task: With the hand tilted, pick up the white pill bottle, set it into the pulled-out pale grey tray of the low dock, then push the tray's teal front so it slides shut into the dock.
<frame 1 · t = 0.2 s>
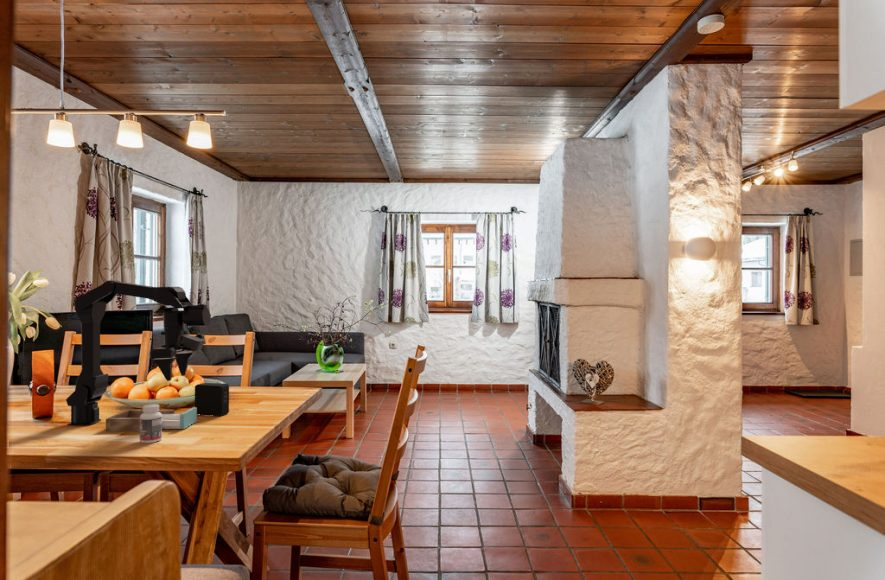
hand: (176, 378, 168), 14 cm above the table, tool pointing down, fingers open, 9 cm apart
pill bottle: (150, 441, 150), on the table
tray: (168, 417, 166), point 2 cm above the table, slide at 6.0 cm
dock: (149, 425, 166), on the table
electronic device: (211, 414, 181), on the table
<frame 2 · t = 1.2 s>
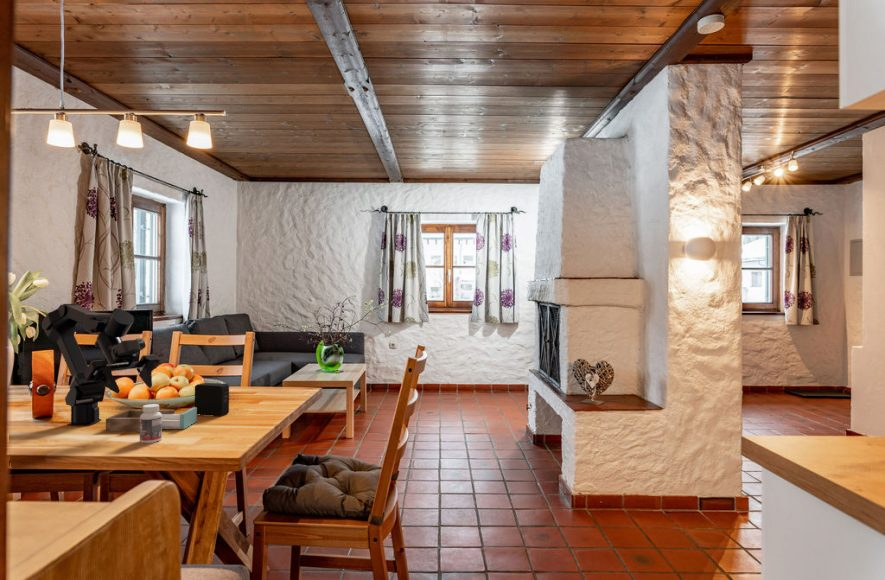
hand: (135, 389, 154), 13 cm above the table, tool tilted 45°, fingers open, 9 cm apart
nothing on the table moved.
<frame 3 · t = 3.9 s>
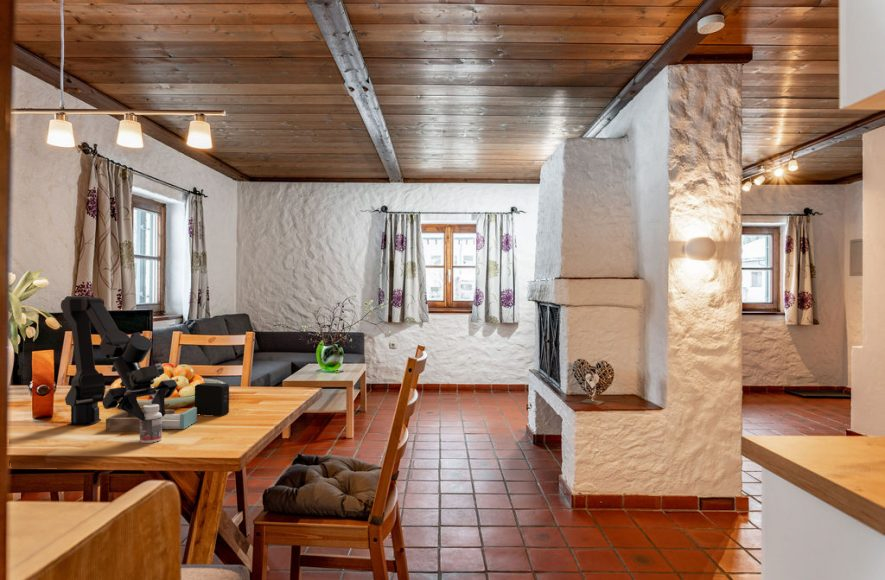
hand: (154, 417, 149), 7 cm above the table, tool tilted 45°, fingers closed on pill bottle, 5 cm apart
pill bottle: (150, 441, 150), on the table, touching gripper
everything else where it was.
when the fingers open (9 cm above the table, at t = 7.5 s): pill bottle drops 1 cm, resting on tray.
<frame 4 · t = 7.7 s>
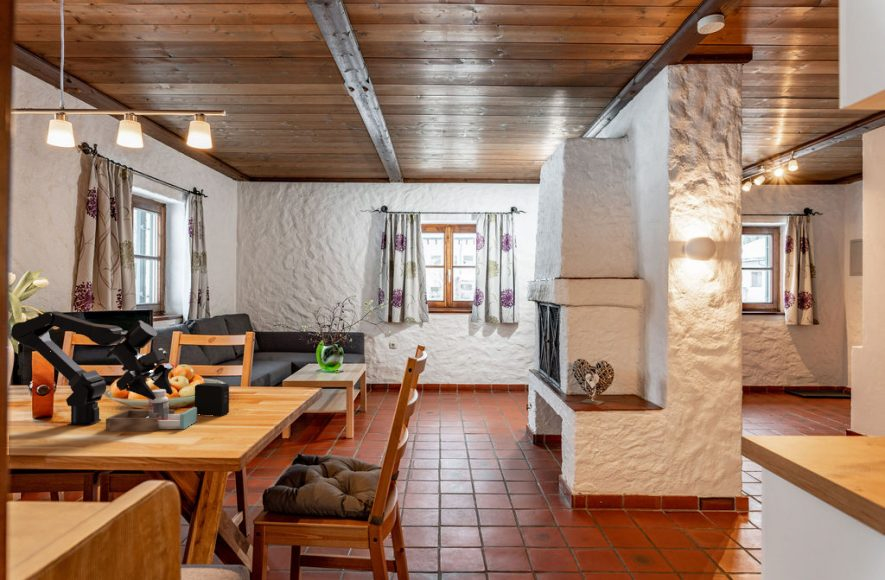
hand: (163, 396, 166), 9 cm above the table, tool tilted 45°, fingers open, 7 cm apart
pill bottle: (158, 423, 166), point 1 cm above the table, touching tray
tray: (168, 417, 166), point 2 cm above the table, slide at 6.0 cm, touching pill bottle
everything else where it was.
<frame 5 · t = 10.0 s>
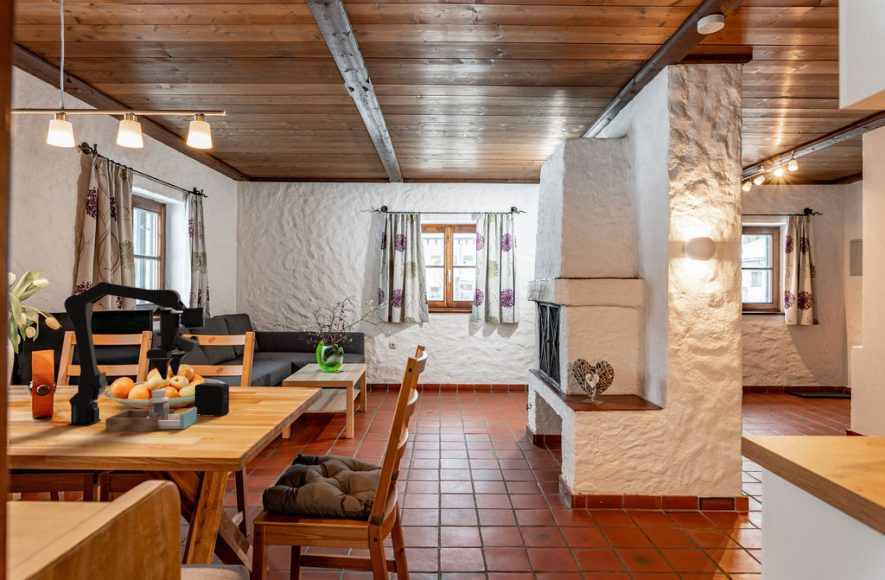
hand: (170, 377, 175), 13 cm above the table, tool pointing down, fingers open, 7 cm apart
nothing on the table moved.
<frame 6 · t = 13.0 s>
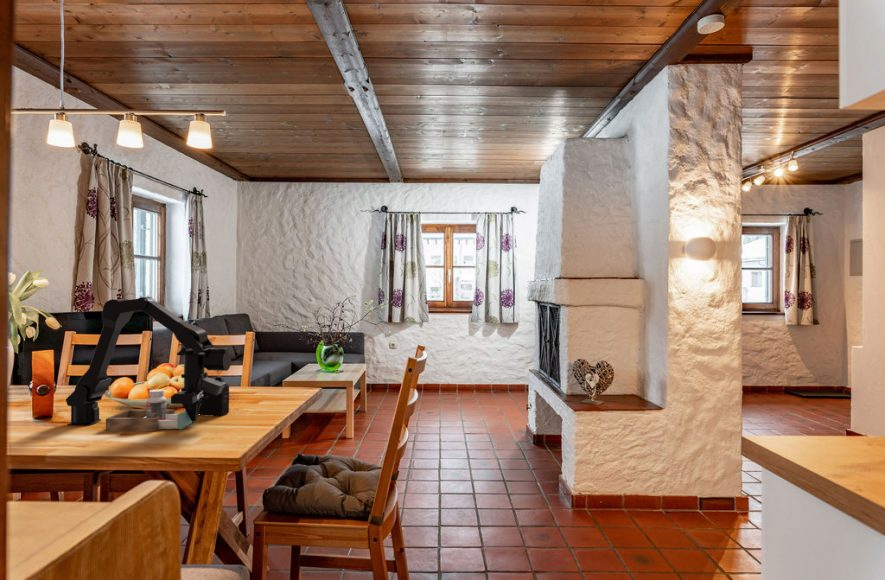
hand: (193, 421, 166), 1 cm above the table, tool pointing down, fingers closed, pressing on tray
tray: (166, 417, 166), point 2 cm above the table, slide at 5.3 cm, touching gripper, pill bottle
everything else where it was.
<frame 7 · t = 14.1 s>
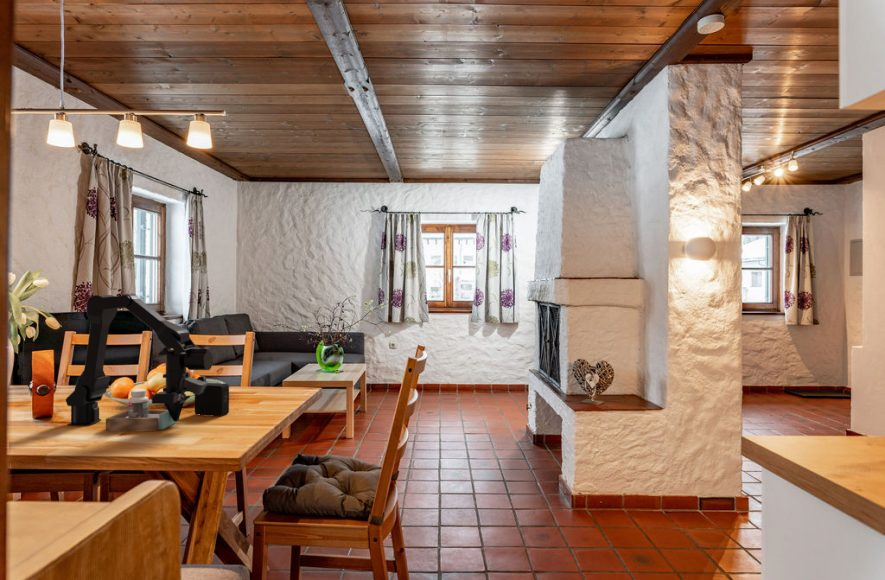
hand: (176, 421, 166), 1 cm above the table, tool pointing down, fingers closed, pressing on tray
pill bottle: (138, 423, 166), point 1 cm above the table, touching tray
tray: (148, 417, 166), point 2 cm above the table, slide at 0.0 cm, touching gripper, pill bottle
everything else where it was.
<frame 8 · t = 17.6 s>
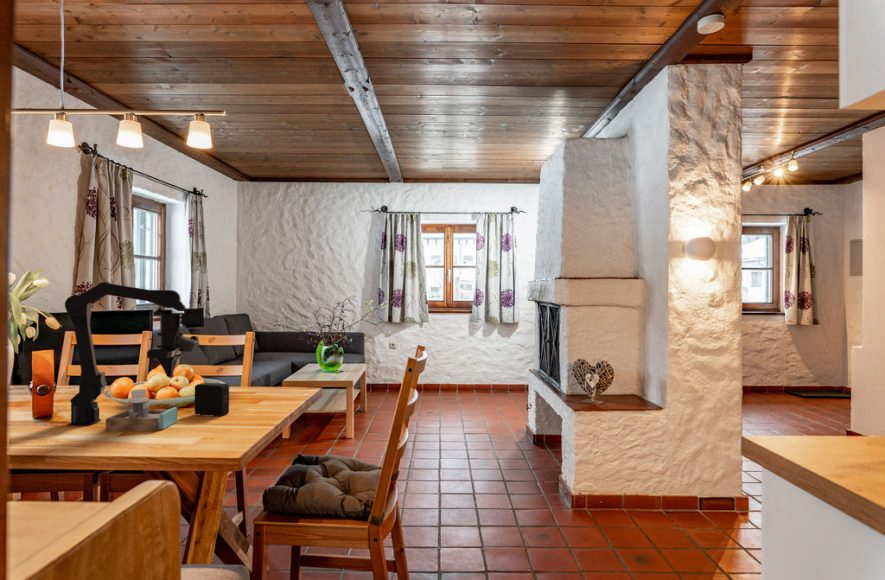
hand: (169, 377, 177), 13 cm above the table, tool pointing down, fingers closed
tray: (148, 417, 166), point 2 cm above the table, slide at 0.0 cm, touching pill bottle
everything else where it was.
at the end: tray slide at 0.0 cm; pill bottle inside the target area on the dock (1.1 cm from its centre), point 0.8 cm above the dock's base; pill bottle tilted 0° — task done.
